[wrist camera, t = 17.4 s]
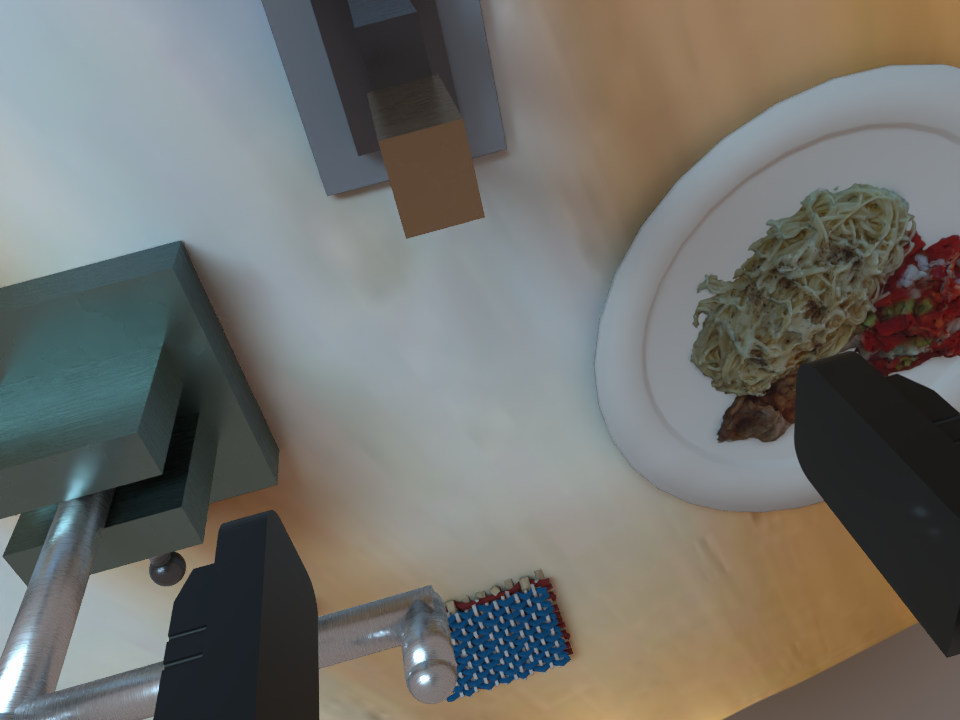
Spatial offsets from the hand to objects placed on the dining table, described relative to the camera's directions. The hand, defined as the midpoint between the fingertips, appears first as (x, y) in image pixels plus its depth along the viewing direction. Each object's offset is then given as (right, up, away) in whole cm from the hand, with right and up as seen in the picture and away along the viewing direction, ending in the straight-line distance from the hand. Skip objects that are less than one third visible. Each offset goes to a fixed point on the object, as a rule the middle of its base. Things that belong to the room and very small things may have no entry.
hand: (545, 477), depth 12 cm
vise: (-16, +1, +31) cm, 35 cm away
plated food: (+20, +5, +37) cm, 42 cm away
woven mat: (0, -18, +48) cm, 51 cm away
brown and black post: (-5, +15, +23) cm, 28 cm away
